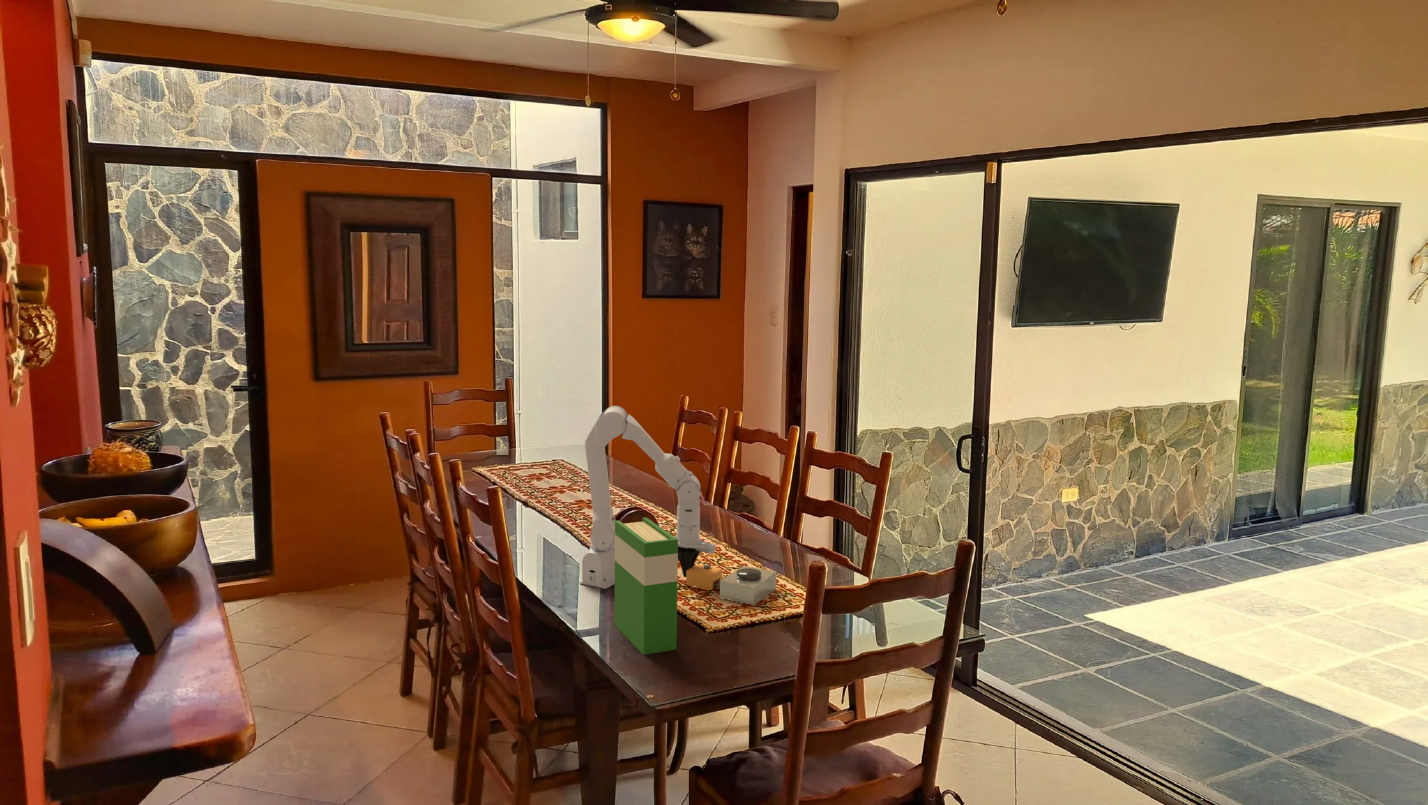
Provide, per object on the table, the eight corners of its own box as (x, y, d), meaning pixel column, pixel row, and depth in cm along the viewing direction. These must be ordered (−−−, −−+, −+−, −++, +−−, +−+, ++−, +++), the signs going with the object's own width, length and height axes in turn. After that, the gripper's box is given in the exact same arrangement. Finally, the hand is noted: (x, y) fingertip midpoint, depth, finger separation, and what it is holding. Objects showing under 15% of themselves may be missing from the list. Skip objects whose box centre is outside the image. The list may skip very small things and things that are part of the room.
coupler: (753, 605, 229) (754, 583, 228) (697, 594, 236) (698, 572, 235) (775, 589, 240) (776, 568, 239) (722, 578, 247) (722, 558, 246)
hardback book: (614, 624, 216) (614, 520, 212) (645, 620, 219) (646, 517, 215) (643, 655, 200) (644, 543, 196) (676, 649, 203) (678, 539, 199)
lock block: (710, 591, 238) (711, 573, 237) (686, 586, 241) (686, 568, 241) (721, 584, 243) (722, 566, 243) (697, 579, 246) (697, 561, 246)
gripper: (721, 524, 242) (720, 576, 245) (671, 516, 249) (670, 566, 251) (708, 531, 236) (707, 584, 238) (657, 522, 243) (656, 574, 245)
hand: (687, 576), depth 244 cm, fingers closed
